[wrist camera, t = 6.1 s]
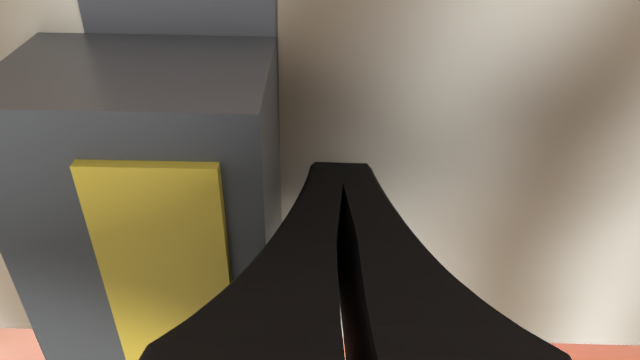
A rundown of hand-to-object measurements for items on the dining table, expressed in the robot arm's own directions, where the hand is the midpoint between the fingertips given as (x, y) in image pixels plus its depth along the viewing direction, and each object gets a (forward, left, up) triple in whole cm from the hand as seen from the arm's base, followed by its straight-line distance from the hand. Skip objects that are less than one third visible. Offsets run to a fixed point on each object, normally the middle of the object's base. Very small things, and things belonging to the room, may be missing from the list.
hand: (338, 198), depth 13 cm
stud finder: (+1, +4, -1) cm, 4 cm away
